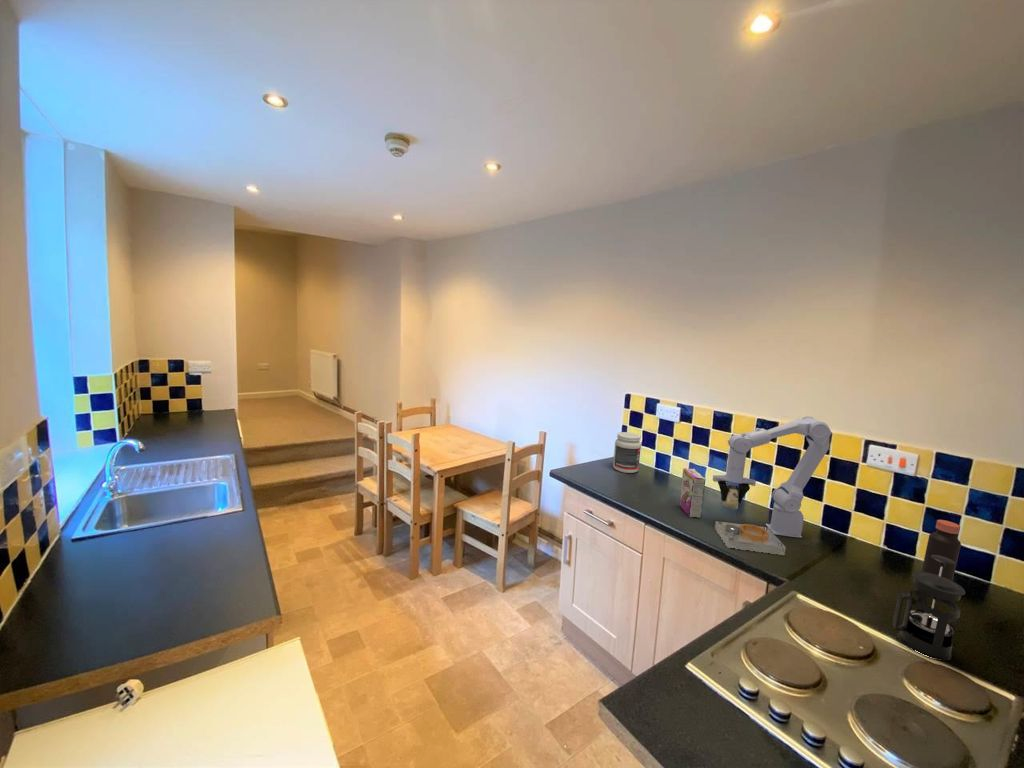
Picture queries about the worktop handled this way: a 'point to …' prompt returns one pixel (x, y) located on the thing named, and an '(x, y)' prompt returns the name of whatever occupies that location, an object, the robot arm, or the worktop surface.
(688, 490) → the candy bar box
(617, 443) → the supplement tub
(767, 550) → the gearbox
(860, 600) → the worktop surface
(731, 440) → the robot arm
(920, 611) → the french press
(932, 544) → the bottle
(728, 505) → the tan piece
